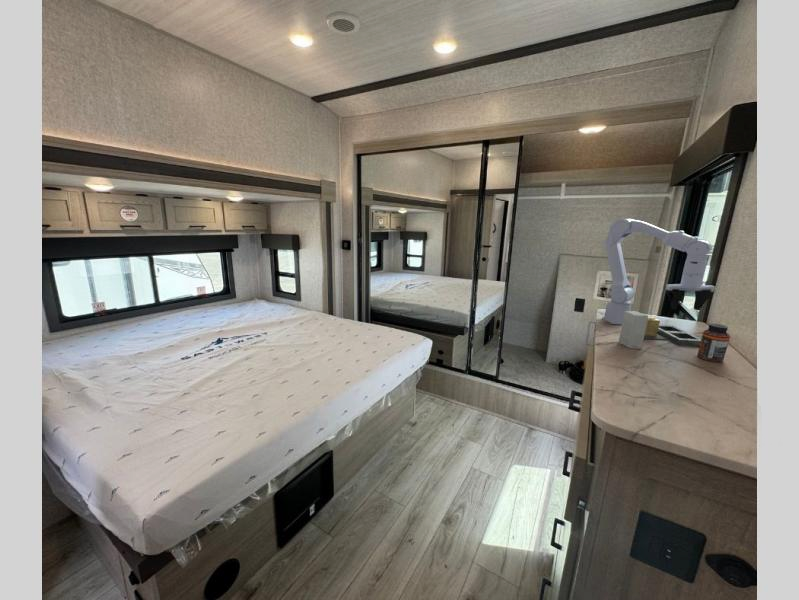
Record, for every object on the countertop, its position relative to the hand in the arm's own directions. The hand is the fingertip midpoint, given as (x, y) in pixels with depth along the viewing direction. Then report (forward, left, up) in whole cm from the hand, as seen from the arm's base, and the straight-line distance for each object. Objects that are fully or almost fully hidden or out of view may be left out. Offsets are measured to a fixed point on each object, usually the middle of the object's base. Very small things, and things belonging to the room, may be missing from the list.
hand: (685, 309), depth 115 cm
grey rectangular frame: (+3, -3, -10) cm, 11 cm away
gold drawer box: (+2, -13, -10) cm, 16 cm away
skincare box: (+14, -24, -11) cm, 30 cm away
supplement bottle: (+22, -5, -11) cm, 25 cm away
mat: (+2, -13, -10) cm, 16 cm away
